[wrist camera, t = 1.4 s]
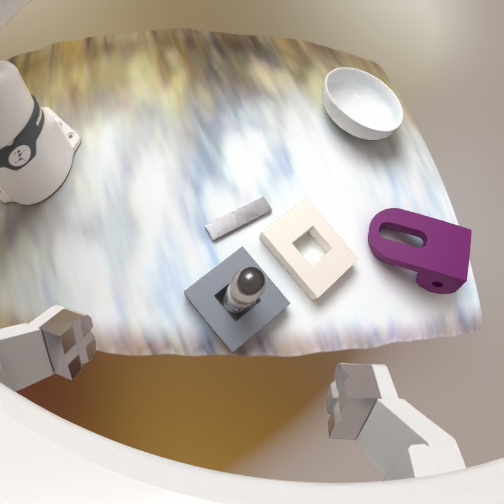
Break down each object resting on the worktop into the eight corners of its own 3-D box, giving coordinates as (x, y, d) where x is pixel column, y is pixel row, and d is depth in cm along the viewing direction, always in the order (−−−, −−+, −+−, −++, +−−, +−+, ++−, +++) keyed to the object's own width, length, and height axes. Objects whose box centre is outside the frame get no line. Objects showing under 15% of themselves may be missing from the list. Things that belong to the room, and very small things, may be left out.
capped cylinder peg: (218, 298, 42) (225, 276, 28) (237, 283, 43) (253, 254, 29) (234, 317, 41) (249, 305, 27) (253, 302, 42) (277, 282, 28)
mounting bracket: (359, 270, 53) (450, 297, 46) (362, 250, 45) (466, 281, 38) (372, 227, 56) (457, 251, 48) (375, 202, 48) (471, 229, 41)
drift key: (213, 242, 44) (213, 239, 43) (205, 228, 45) (205, 225, 44) (270, 212, 47) (272, 209, 46) (262, 200, 48) (263, 196, 46)
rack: (258, 237, 45) (261, 231, 43) (301, 204, 48) (306, 198, 45) (311, 300, 44) (317, 298, 41) (351, 262, 46) (358, 258, 44)
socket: (184, 294, 41) (183, 291, 39) (240, 251, 44) (242, 246, 42) (231, 351, 40) (232, 352, 38) (285, 305, 43) (290, 303, 41)
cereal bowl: (305, 85, 56) (315, 61, 50) (371, 93, 59) (384, 73, 53) (327, 149, 52) (341, 126, 45) (398, 153, 55) (416, 135, 48)
